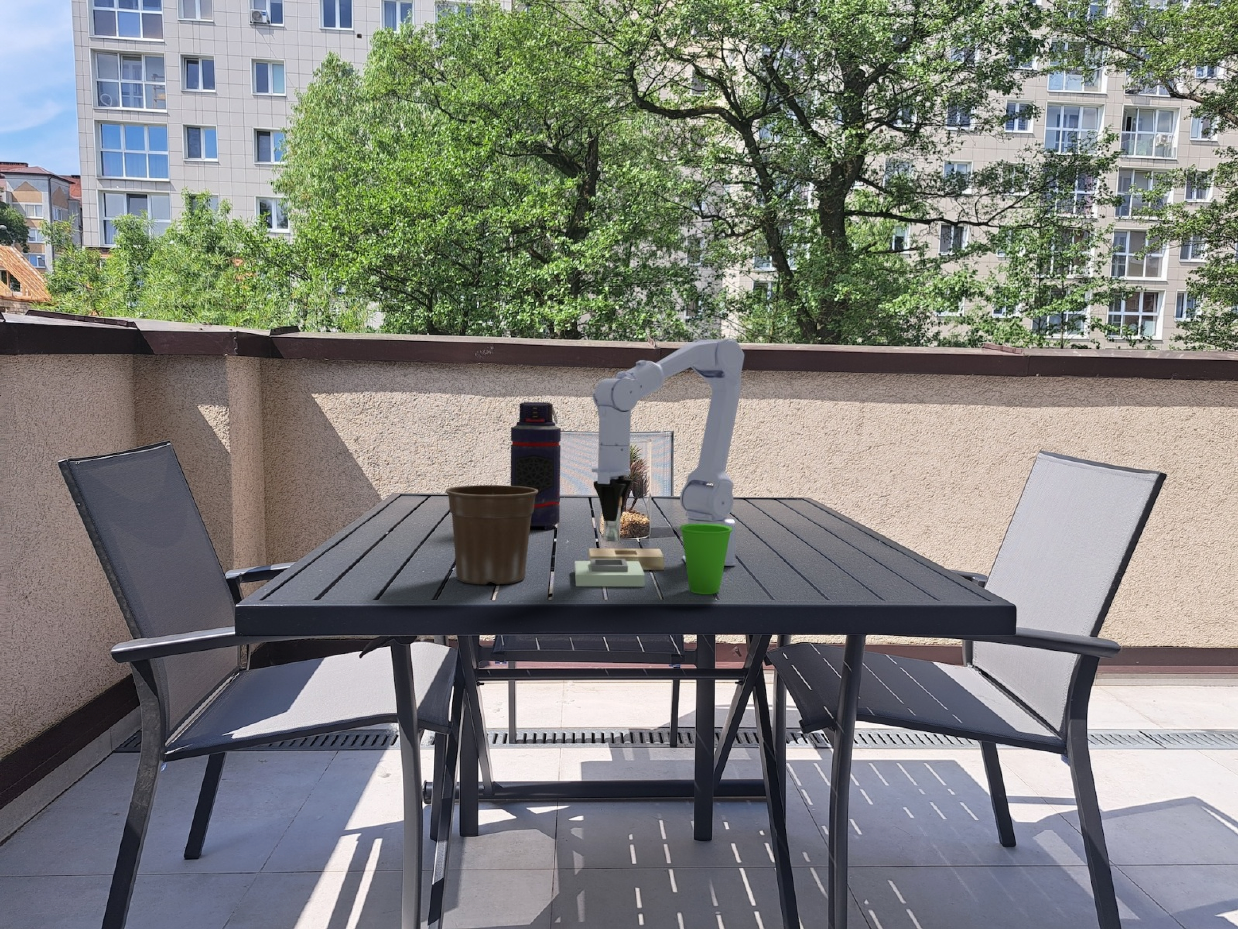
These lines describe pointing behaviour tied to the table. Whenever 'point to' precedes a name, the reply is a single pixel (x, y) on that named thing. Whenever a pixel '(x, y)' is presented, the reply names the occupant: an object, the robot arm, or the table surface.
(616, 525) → the pin
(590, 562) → the socket
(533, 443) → the red-banded navy canister
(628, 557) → the mount
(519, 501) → the plant pot
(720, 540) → the cup
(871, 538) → the table surface
